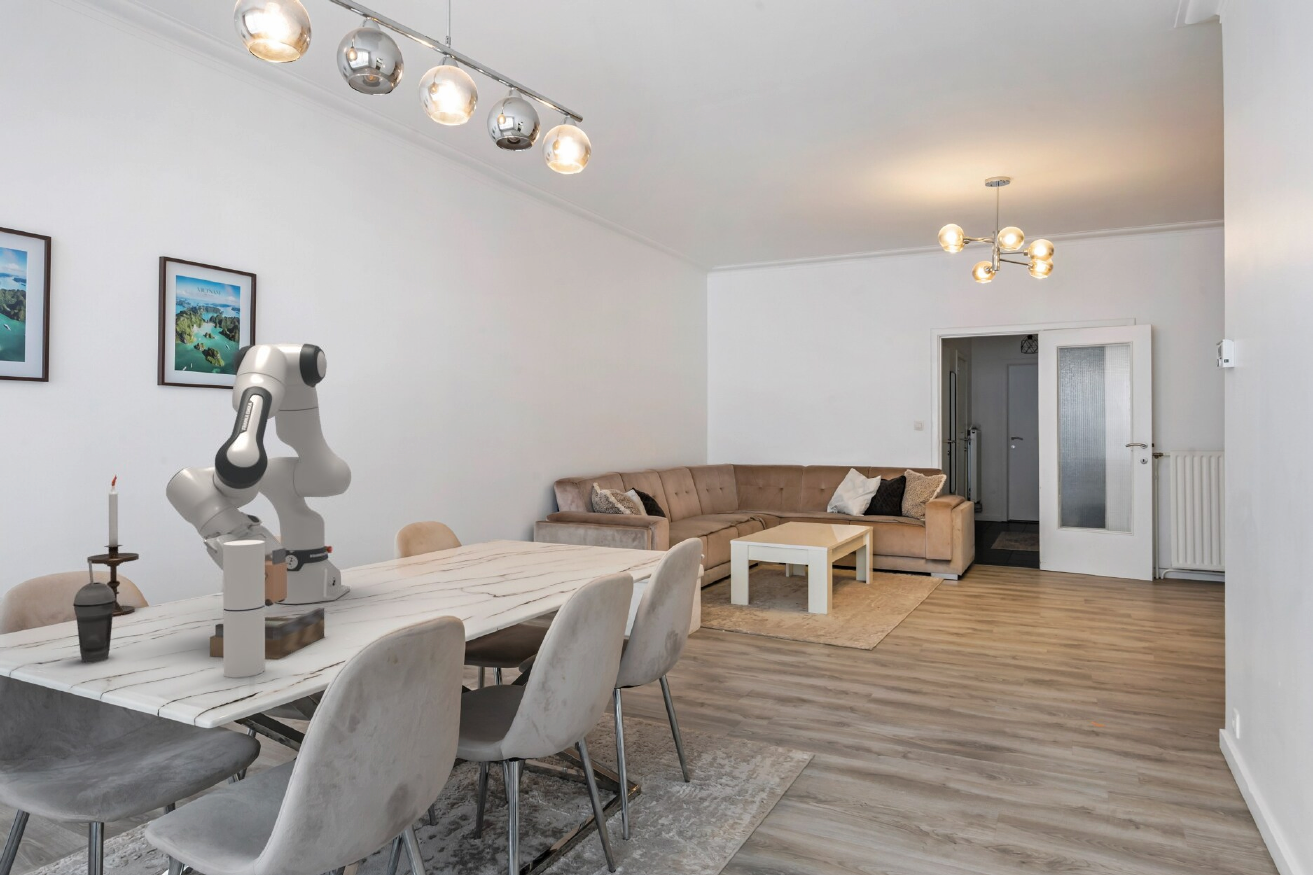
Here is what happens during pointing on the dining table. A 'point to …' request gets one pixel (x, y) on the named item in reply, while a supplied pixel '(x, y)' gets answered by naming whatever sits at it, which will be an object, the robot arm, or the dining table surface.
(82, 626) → the beverage cup
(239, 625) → the cylindrical container
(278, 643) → the dock
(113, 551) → the candlestick
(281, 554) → the tan block
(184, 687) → the dining table surface
